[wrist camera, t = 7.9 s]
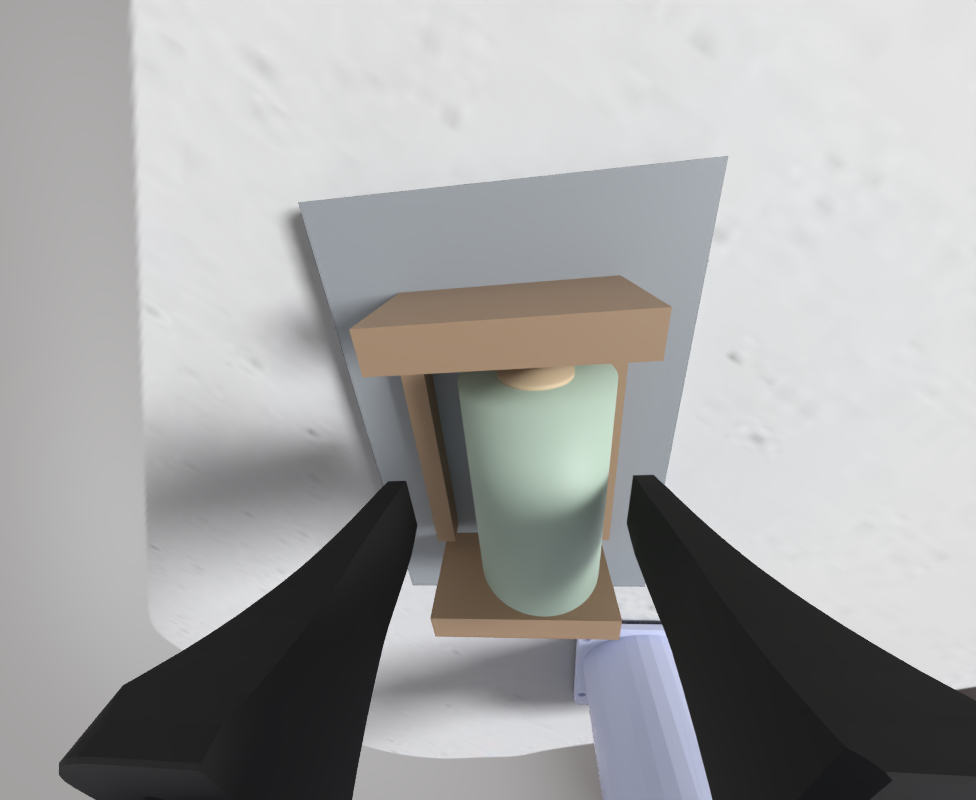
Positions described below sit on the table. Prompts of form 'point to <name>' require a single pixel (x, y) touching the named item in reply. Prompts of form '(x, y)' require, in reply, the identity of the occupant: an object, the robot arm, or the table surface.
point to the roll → (540, 479)
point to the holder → (516, 343)
